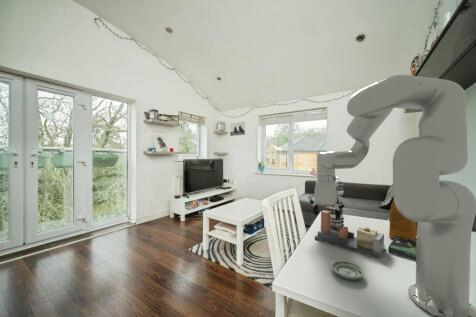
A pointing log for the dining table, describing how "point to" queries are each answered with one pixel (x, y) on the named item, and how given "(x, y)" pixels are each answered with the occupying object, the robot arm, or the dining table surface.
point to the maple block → (365, 237)
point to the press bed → (354, 242)
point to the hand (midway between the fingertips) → (326, 216)
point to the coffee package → (401, 225)
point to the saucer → (347, 269)
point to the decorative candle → (332, 209)
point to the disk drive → (403, 247)
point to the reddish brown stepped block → (326, 226)
